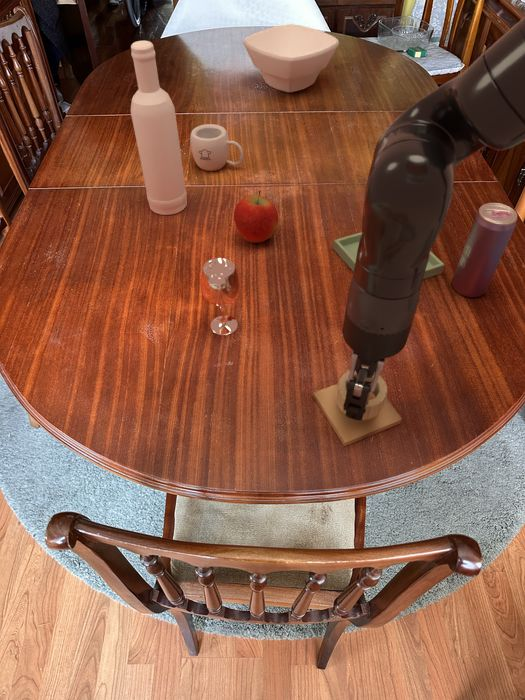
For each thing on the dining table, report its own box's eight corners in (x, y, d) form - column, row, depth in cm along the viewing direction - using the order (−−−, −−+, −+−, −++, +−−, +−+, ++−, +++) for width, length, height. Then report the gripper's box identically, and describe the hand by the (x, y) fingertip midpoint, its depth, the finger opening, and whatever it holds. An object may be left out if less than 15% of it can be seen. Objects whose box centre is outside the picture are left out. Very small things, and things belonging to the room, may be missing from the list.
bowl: (234, 84, 144) (232, 39, 135) (289, 64, 154) (291, 20, 145) (289, 110, 133) (291, 62, 125) (345, 86, 143) (350, 40, 134)
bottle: (149, 217, 102) (116, 54, 79) (148, 196, 107) (117, 37, 84) (189, 213, 103) (167, 51, 80) (186, 192, 108) (165, 34, 85)
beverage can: (490, 299, 86) (524, 224, 75) (455, 298, 86) (483, 224, 75) (481, 275, 90) (511, 201, 79) (447, 275, 90) (473, 201, 79)
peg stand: (366, 376, 75) (372, 352, 71) (401, 423, 70) (409, 400, 66) (312, 396, 73) (315, 372, 69) (344, 446, 68) (349, 424, 63)
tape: (367, 375, 72) (370, 362, 70) (392, 409, 68) (396, 396, 66) (327, 390, 71) (329, 377, 68) (351, 426, 67) (354, 413, 65)
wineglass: (221, 344, 80) (215, 287, 71) (199, 324, 83) (190, 267, 73) (249, 326, 82) (246, 269, 73) (226, 307, 85) (222, 250, 76)
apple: (229, 231, 99) (226, 185, 91) (267, 222, 101) (267, 176, 93) (243, 255, 94) (241, 209, 86) (283, 245, 96) (285, 199, 88)
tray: (396, 229, 99) (398, 221, 97) (441, 273, 90) (444, 264, 89) (333, 248, 95) (334, 240, 94) (373, 295, 87) (375, 287, 85)
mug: (187, 171, 113) (182, 137, 108) (201, 153, 119) (197, 120, 113) (237, 179, 111) (236, 145, 105) (249, 161, 116) (249, 127, 110)
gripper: (402, 363, 51) (376, 448, 64) (425, 275, 60) (398, 364, 72) (329, 344, 53) (318, 430, 65) (362, 261, 62) (347, 351, 74)
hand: (360, 395), depth 69 cm, fingers closed on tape, 6 cm apart
